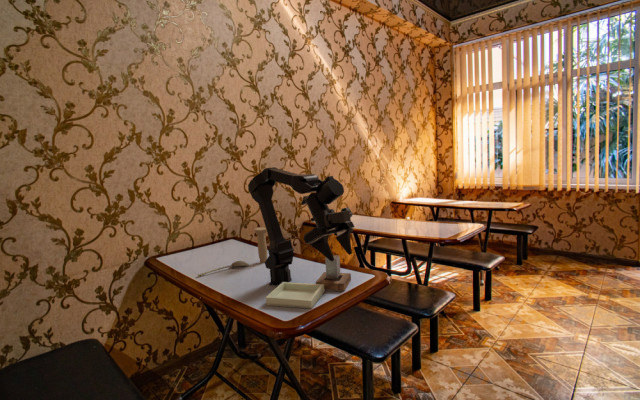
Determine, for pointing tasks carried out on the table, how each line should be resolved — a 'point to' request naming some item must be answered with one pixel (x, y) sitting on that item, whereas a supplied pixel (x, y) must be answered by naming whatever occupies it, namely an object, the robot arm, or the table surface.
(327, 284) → the holder
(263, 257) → the handle
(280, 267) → the robot arm
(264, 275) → the table surface
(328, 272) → the grey rectangular block
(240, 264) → the soupspoon
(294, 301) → the tray
